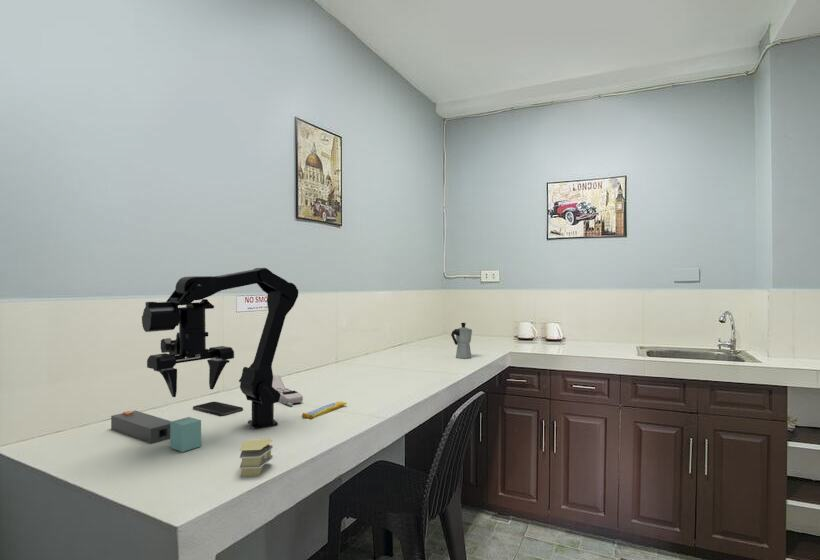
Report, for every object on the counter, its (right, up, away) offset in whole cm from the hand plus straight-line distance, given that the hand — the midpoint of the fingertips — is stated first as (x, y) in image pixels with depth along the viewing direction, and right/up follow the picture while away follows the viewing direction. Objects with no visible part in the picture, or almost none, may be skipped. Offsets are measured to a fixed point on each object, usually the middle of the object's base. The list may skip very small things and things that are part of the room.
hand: (193, 392), depth 110 cm
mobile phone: (+10, -13, +42) cm, 45 cm away
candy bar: (+27, -13, +26) cm, 39 cm away
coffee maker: (+79, -13, +125) cm, 148 cm away
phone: (-6, -13, +28) cm, 31 cm away
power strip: (-16, -12, +7) cm, 21 cm away
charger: (-1, -12, -3) cm, 12 cm away
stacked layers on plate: (+21, -12, -17) cm, 29 cm away
